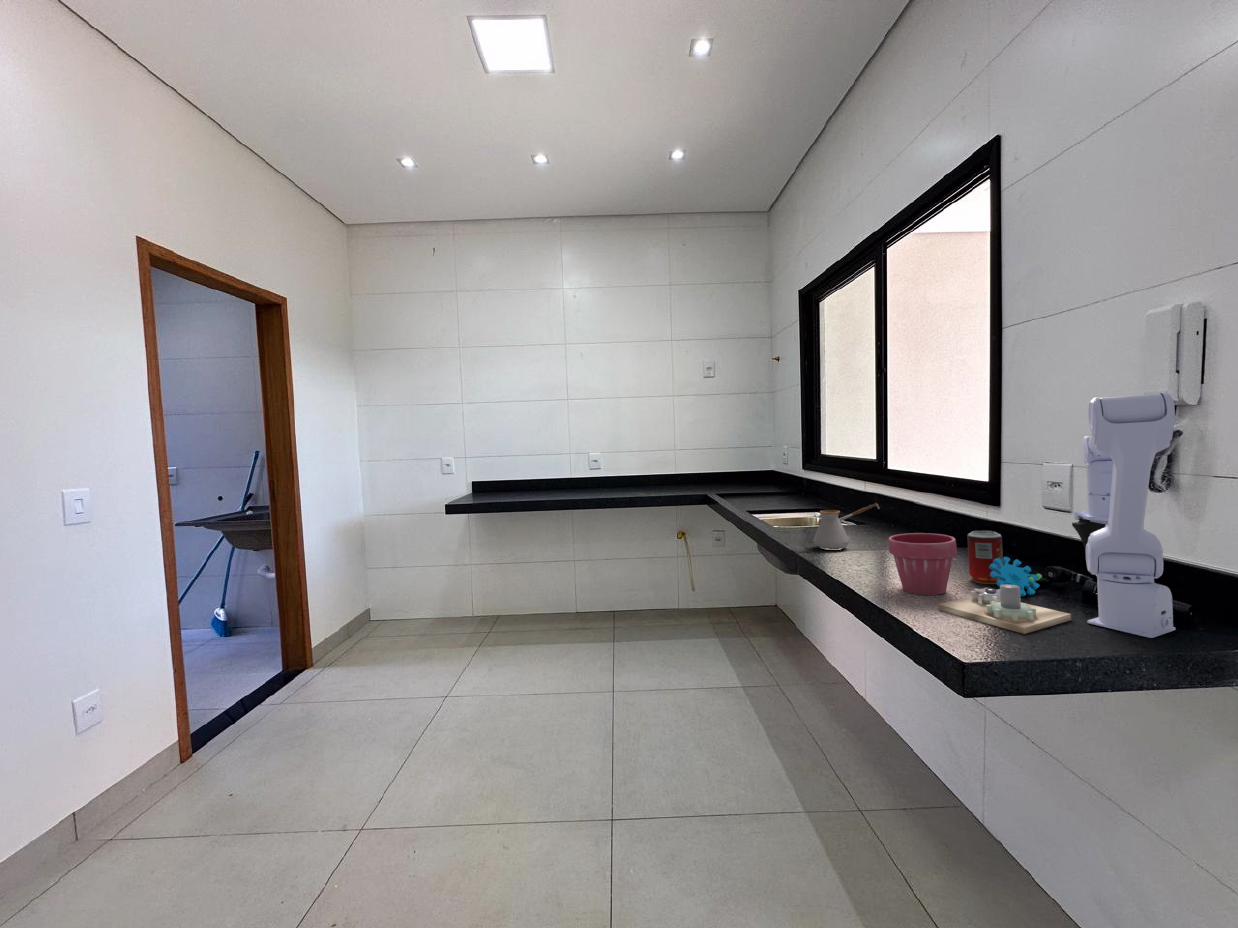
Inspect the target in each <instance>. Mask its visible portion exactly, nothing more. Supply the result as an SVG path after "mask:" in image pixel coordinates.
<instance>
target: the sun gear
mask: <svg viewBox="0 0 1238 928" xmlns="http://www.w3.org/2000/svg"><path fill="white" fill-rule="evenodd" d="M970 594H971V595H970V596H971V597H972V601H976V602H978V604H981V605H983V604H986V605H990V602H992V601H994V602H1001V601H1000V588H999V589H995V588H991V587H984V588H977V587H976V588H973V590H971V593H970Z"/></svg>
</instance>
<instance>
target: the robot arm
mask: <svg viewBox="0 0 1238 928" xmlns="http://www.w3.org/2000/svg"><path fill="white" fill-rule="evenodd" d="M1087 411H1088V412H1087V413H1088V416H1087V417H1088V425H1089V429H1090V432H1091V434H1090V436H1089V435H1085V436H1083V438H1082V443H1081V455H1082V460H1083V463H1084V464H1085V467H1086V469H1085V470H1086V491H1087V497H1086V499H1087V510H1074V511H1073V512H1074V520H1075V521H1077V522H1071V524H1072V528H1073V529H1074V530H1075V531H1076V533H1077V534H1078V536H1079V538H1080V540H1081V543H1082V545H1083V547H1084V549H1085V550H1084V551H1085V561H1086V568H1087V571H1088V572H1089V573H1090V574H1091V575H1092V576H1093V575H1095V576H1096V579H1097V603H1098V604H1097V607H1098V617H1094V618H1091V619H1088V620H1087V623H1088V624H1091V625H1095V626H1098V627H1103V628H1108V629H1112V630H1115V631H1118V632H1119V631H1120V632H1123V633H1128V634H1131V635H1137V636H1141V637H1145V638H1149V639H1153V638H1156V637H1159V636H1163V635H1165V634H1167V633H1171V632H1173V631H1176V627H1174V614H1173V613H1174V610H1173V594H1172V592H1171V589H1170V588H1169V587H1168V586H1166V585H1163V584H1160V583H1156V582H1155V579H1159V578H1160V577H1162V575H1163V572H1164V556H1163V555H1164V550H1163V549H1164V548H1163V545H1162V544H1161V543H1162V542H1160V539H1159V538H1158V537H1157V536H1156V534H1153V533H1151V532H1150V531H1148V530H1146V529H1145V527H1144V524H1145V518H1146V509H1147V500H1148V493H1149V492H1148V491H1149V485H1150V477H1151V470H1152V466H1153V464H1154V460H1155V457H1156V454H1157V453H1160V452H1162V451H1164V450H1165V449H1168V448H1169V447H1170V446H1171V445H1170V444H1171V441H1172V440H1173V434H1174V427H1175V420H1176V413H1175V411H1176V409H1175V402H1174V399H1173V396H1172V395H1171V394H1169V393H1168V392H1167V391H1161V392H1159V393H1147V394H1145V393H1144V394H1132V395H1131V394H1130V395H1123V396H1122V395H1121V396H1108V397H1107V396H1106V397H1099V396H1097V397H1095V396H1094V397H1093V398H1092V399H1091V400H1090V401H1089V403H1088V410H1087Z"/></svg>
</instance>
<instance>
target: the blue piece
mask: <svg viewBox="0 0 1238 928" xmlns="http://www.w3.org/2000/svg"><path fill="white" fill-rule="evenodd" d="M1002 561H1003V565H1002V564H1001V559H999V558H996V559H994V560H993V562H994V563H995V564H996V565H997V566H998V567H999V569H998V568H997V566H996V565H995V564H994V563H992V564H991V565H990V566H989V568H990V569H992V570H994V571H992V572H991V573H990V576H991V577H992V578H999V579H1001V580H998V581H997V582H996V584H995V585H997V586H998V587H999V588H1000V585H1004V584H1008V585H1016V586H1019V587H1020V597H1025V596H1026V595H1029V596H1033V595H1034V594H1036V591H1035V590H1037V589H1038V588H1039V587H1040V584H1039V583H1037V581H1039V580H1040V579H1041V578H1043V575H1042V574H1040V573H1036V574H1030V572H1032V569H1031V567H1030V566H1029V565H1026V566H1024V567H1019V566H1020V565H1021V564H1022V561H1020V560H1019V559H1017V558H1016V559H1015V560H1013V562H1012V563H1013V564H1010V563H1009V562H1010V561H1011V558H1010V557H1008V556H1004V557H1003V559H1002ZM995 571H996V572H997V573H998V574H997V573H996V572H995ZM1024 587H1025V588H1024ZM1025 589H1026V591H1025Z"/></svg>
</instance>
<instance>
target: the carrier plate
mask: <svg viewBox="0 0 1238 928" xmlns="http://www.w3.org/2000/svg"><path fill="white" fill-rule="evenodd" d="M1023 603H1024V604H1027V606H1029V607H1034V608H1036V617H1034V616H1033V619H1034V620H1027V619H1024V620H1018V621H1014V620H1012V619H1007V618H997V617H994V615H993V614H991V613H987V605H986V604H983V605H981V604H978V602H976V601H972V597H971V595H970V596H966V597H962V598H958V599H954V600H950V601H947V602H941V603H938V610H939V611H942V612H945V613H949V614H952V615H956V616H960V617H963V618H967V619H971V620H973V621H977V622H980V623H984V624H988V625H991V626H994V627H995V626H996V627H998V628H1002V629H1005V630H1009V631H1013V632H1016V633H1020V634H1024V635H1025V634H1029V633H1033V632H1035V631H1039V630H1042V629H1043V630H1044V629H1046V628H1049V627H1053V626H1057V625H1060V624H1063V623H1066V622H1070V621H1072V613H1067V612H1065V611H1059V610H1056V609H1051V608H1047V607H1043V606H1039V605H1033V604H1029V603H1025V602H1023Z"/></svg>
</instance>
